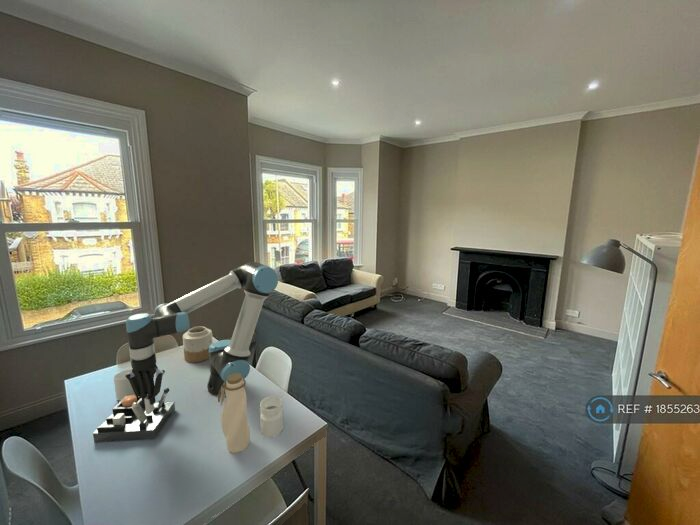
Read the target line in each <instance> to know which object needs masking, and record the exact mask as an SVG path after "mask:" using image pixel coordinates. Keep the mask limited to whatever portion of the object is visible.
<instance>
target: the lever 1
mask: <svg viewBox="0 0 700 525" xmlns="http://www.w3.org/2000/svg"><path fill="white" fill-rule="evenodd" d="M132 410H133V412H134V413H135V415H136V417H137V418H138V420H139V421H140V423H144V422H145V420H146V419H147V418H148V417H147V416H146V414H145V412H144V411H143V409H142V407H141V406H140V404H139V403H133V404H132Z"/></svg>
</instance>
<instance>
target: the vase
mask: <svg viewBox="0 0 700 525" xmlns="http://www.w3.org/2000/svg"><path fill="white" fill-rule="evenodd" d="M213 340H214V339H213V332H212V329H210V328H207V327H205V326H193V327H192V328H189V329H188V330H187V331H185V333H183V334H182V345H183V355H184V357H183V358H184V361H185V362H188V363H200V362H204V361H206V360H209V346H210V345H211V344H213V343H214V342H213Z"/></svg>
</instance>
